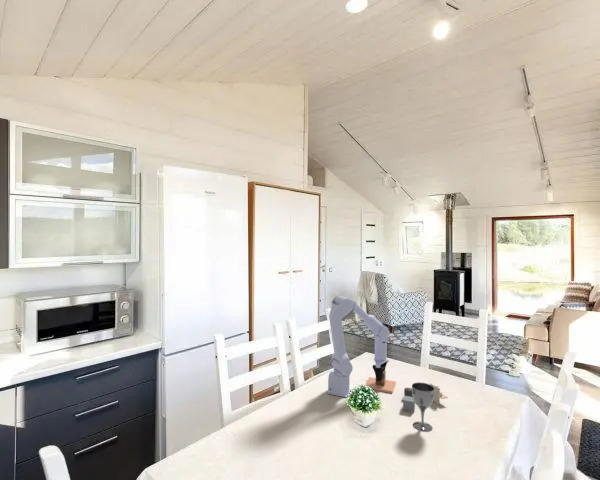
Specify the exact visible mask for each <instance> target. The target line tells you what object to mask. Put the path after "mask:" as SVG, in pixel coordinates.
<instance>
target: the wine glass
mask: <svg viewBox="0 0 600 480" xmlns="http://www.w3.org/2000/svg"><path fill="white" fill-rule="evenodd" d="M411 388H412V396H413V400H414V402H415V406H417V407H418V409H419V410H420V417H421V418H420V419H421V421H419V420H418V421H414V422H413V423H412V427H413V429H415V430H417V431H420V432H426V433H427V432H431V431H433V430H434V429H433V428H434V427H433V426H432V424H430V423H428V422H426V421H424V419H425V418H424V417H425V413H426V410H427V409H428V408H430V406H431V405H432V404H433V403H434V401H433V398H434V387H433V386H431V385H430V384H429V383H425V382H413V383H412V385H411Z"/></svg>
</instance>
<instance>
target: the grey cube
mask: <svg viewBox="0 0 600 480" xmlns="http://www.w3.org/2000/svg"><path fill="white" fill-rule="evenodd" d="M415 409H416V403H415V402H414V400H413V397H409V396H403V399H402V411H404V412H409V413H415Z"/></svg>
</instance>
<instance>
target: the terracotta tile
mask: <svg viewBox="0 0 600 480" xmlns="http://www.w3.org/2000/svg"><path fill="white" fill-rule="evenodd" d="M396 381H397V380H396ZM396 381H394V380H391V379H390V380H389V379H385V385H384V386H380V385H376V377H371V376H369V377H368V379H367V381H366V382H365V384H364V386H365V385H366V386H369V387H370V388H372V389H374V390H373V391H375V392H382V393H388V394H393V393H394V389H395V387H396V384H397V382H396Z"/></svg>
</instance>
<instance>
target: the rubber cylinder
mask: <svg viewBox="0 0 600 480" xmlns="http://www.w3.org/2000/svg"><path fill="white" fill-rule="evenodd" d="M403 391H404V392H403V393H404V394H403V395H404V396H409V397H413V396H412V387H405V388H404V390H403ZM404 396H403V397H404Z"/></svg>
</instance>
